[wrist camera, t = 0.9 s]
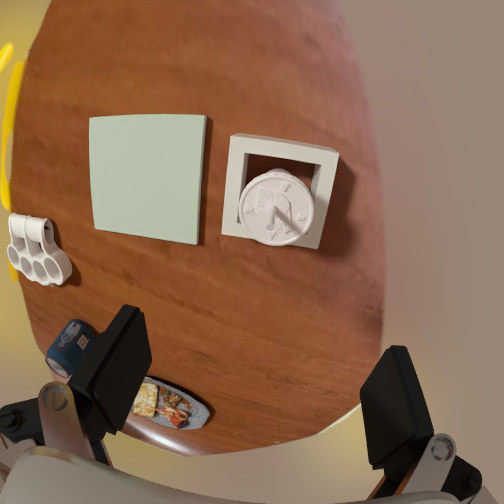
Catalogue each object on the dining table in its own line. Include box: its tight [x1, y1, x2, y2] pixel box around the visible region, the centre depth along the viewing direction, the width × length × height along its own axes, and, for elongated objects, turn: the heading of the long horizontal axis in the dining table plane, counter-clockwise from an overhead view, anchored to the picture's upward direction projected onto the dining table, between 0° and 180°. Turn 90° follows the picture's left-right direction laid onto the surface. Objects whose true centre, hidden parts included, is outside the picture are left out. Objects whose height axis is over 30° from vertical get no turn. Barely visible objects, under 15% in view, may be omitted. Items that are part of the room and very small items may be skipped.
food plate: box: [131, 377, 210, 430], centre depth 57 cm, size 25×23×4 cm
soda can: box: [45, 319, 94, 378], centre depth 43 cm, size 7×7×12 cm
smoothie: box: [238, 168, 314, 246], centre depth 25 cm, size 6×6×14 cm
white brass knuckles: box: [7, 213, 72, 287], centre depth 39 cm, size 3×18×15 cm
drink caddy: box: [222, 133, 339, 249], centre depth 29 cm, size 10×10×4 cm
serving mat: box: [89, 114, 207, 245], centre depth 32 cm, size 16×16×1 cm
